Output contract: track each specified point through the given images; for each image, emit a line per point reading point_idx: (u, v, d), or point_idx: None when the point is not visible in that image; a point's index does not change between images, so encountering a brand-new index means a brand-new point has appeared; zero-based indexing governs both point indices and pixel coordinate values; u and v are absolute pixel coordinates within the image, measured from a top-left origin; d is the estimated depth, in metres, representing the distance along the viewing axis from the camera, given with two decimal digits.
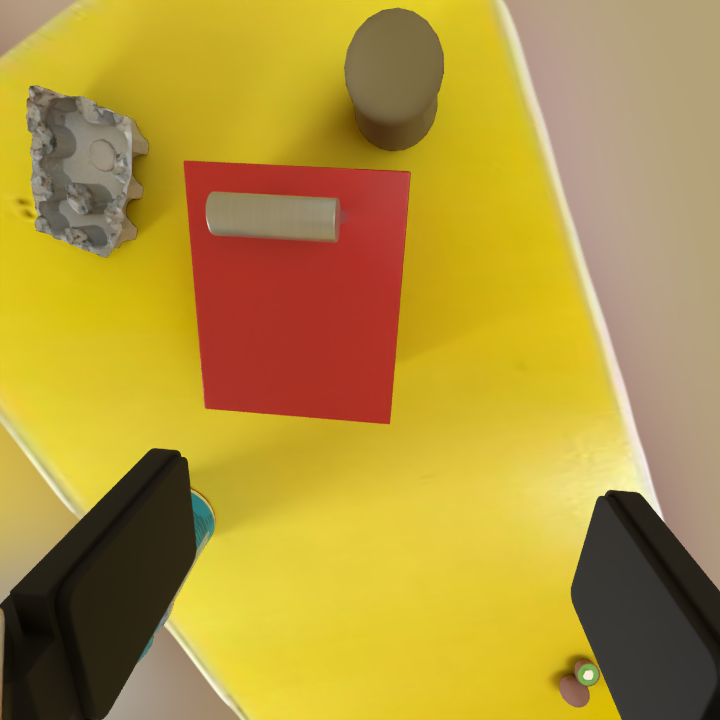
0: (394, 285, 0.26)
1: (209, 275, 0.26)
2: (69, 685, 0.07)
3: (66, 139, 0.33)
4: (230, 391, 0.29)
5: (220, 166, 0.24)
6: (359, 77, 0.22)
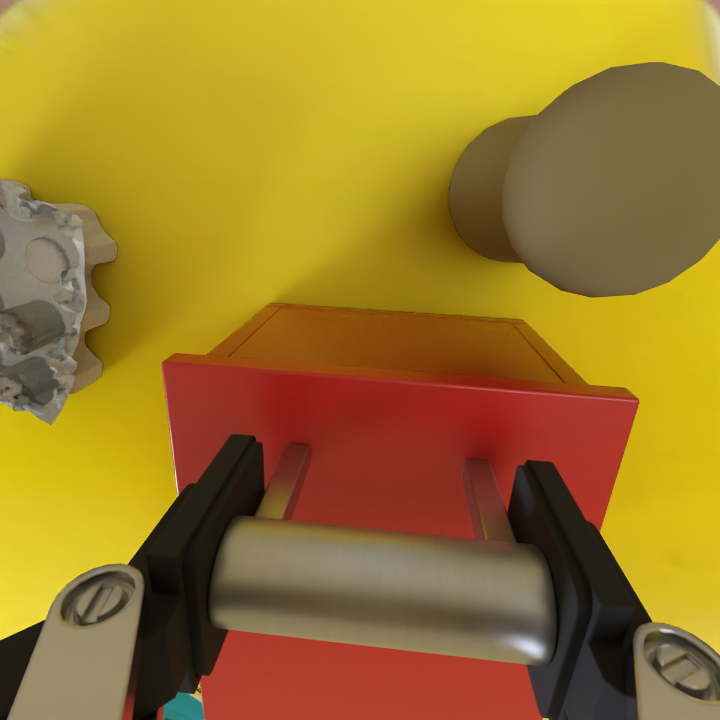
0: None
1: None
2: (187, 642, 0.07)
3: None
4: (249, 706, 0.17)
5: (236, 374, 0.12)
6: (558, 218, 0.10)
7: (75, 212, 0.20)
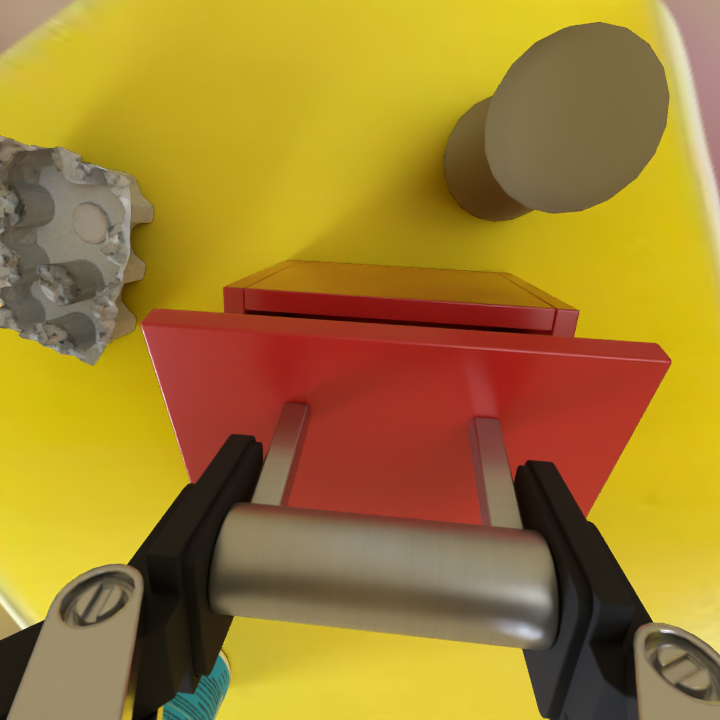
0: None
1: None
2: (187, 641, 0.07)
3: (39, 203, 0.24)
4: None
5: (223, 335, 0.11)
6: (525, 140, 0.13)
7: (121, 176, 0.23)
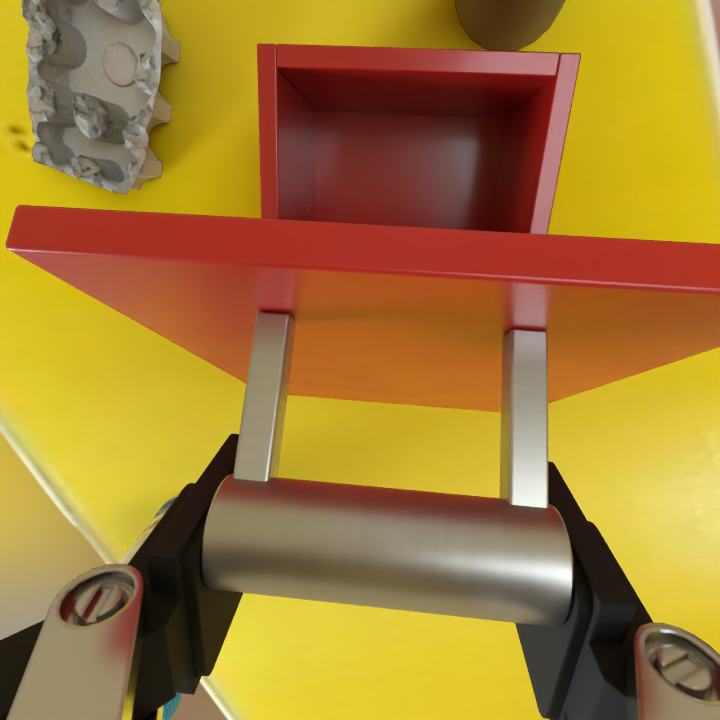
0: (606, 379, 0.12)
1: (214, 350, 0.13)
2: (186, 641, 0.07)
3: (73, 39, 0.25)
4: (293, 391, 0.20)
5: (138, 262, 0.07)
6: None
7: None
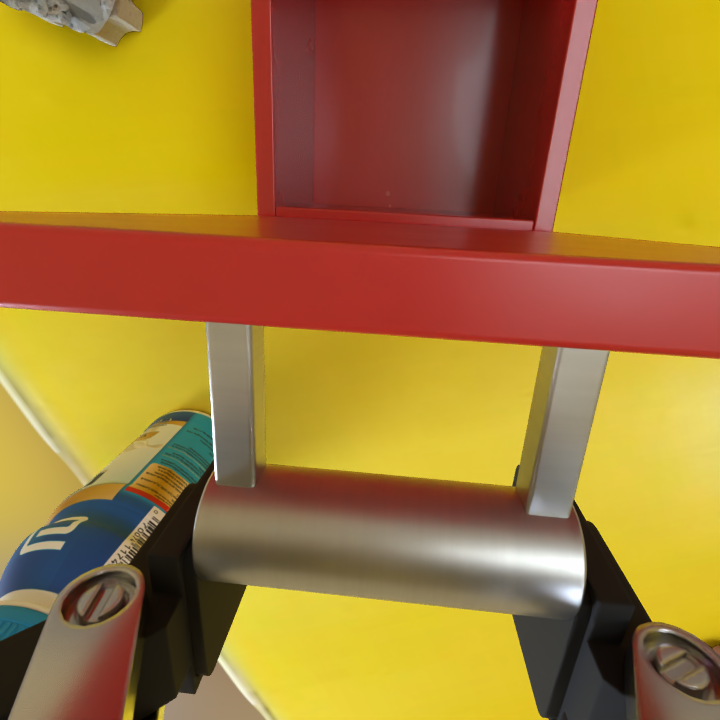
0: None
1: None
2: (188, 641, 0.07)
3: None
4: None
5: None
6: None
7: None
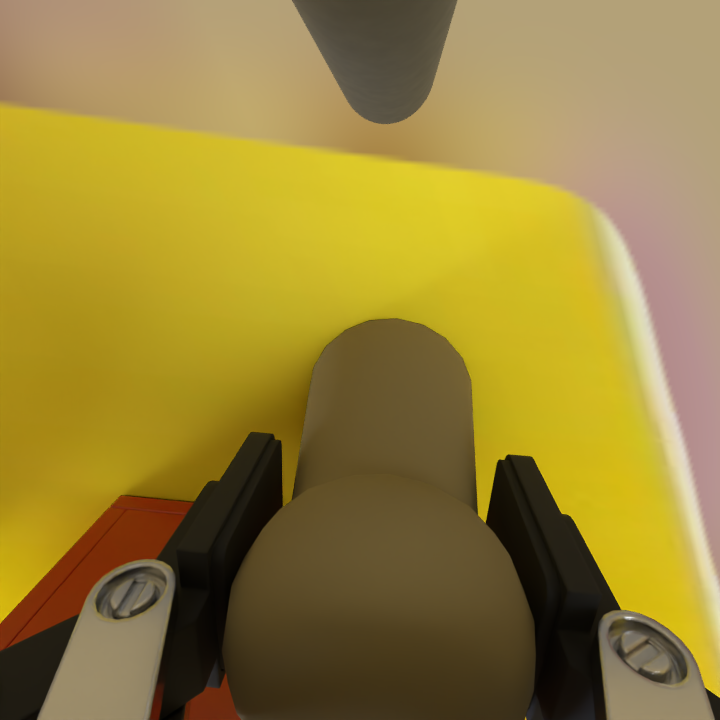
0: None
1: None
2: (214, 636, 0.08)
3: None
4: None
5: None
6: None
7: None
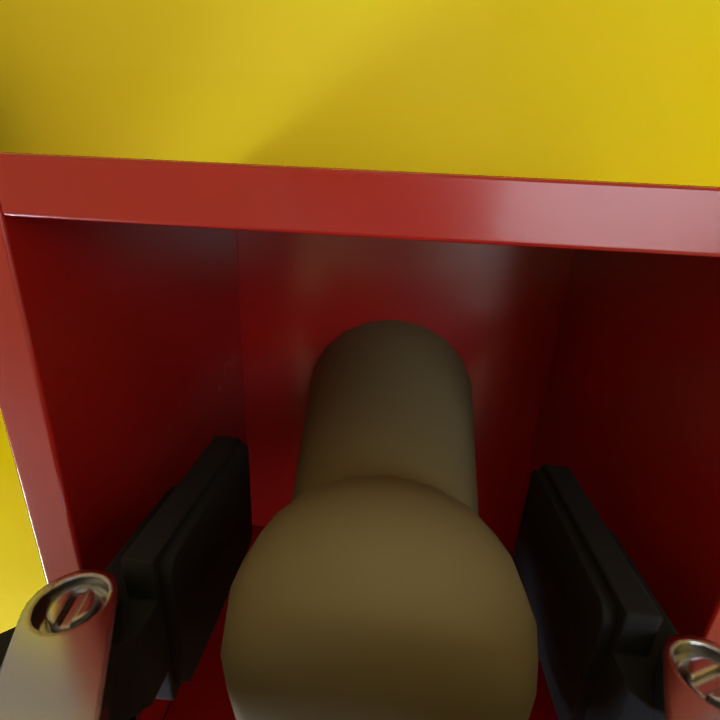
0: None
1: None
2: (165, 647, 0.07)
3: None
4: None
5: None
6: None
7: None
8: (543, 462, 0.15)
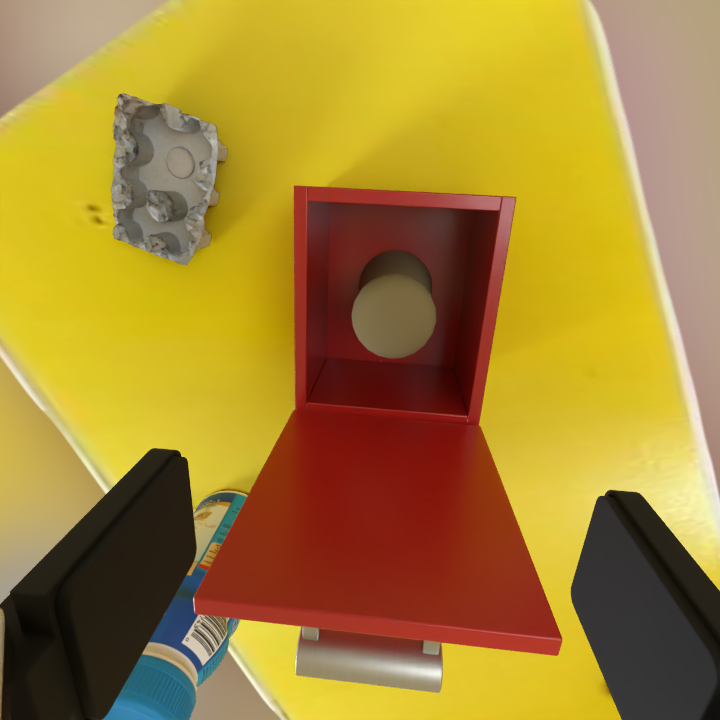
0: None
1: None
2: (68, 685, 0.07)
3: (146, 147, 0.33)
4: None
5: (254, 616, 0.15)
6: (364, 332, 0.26)
7: None
8: (462, 312, 0.35)
